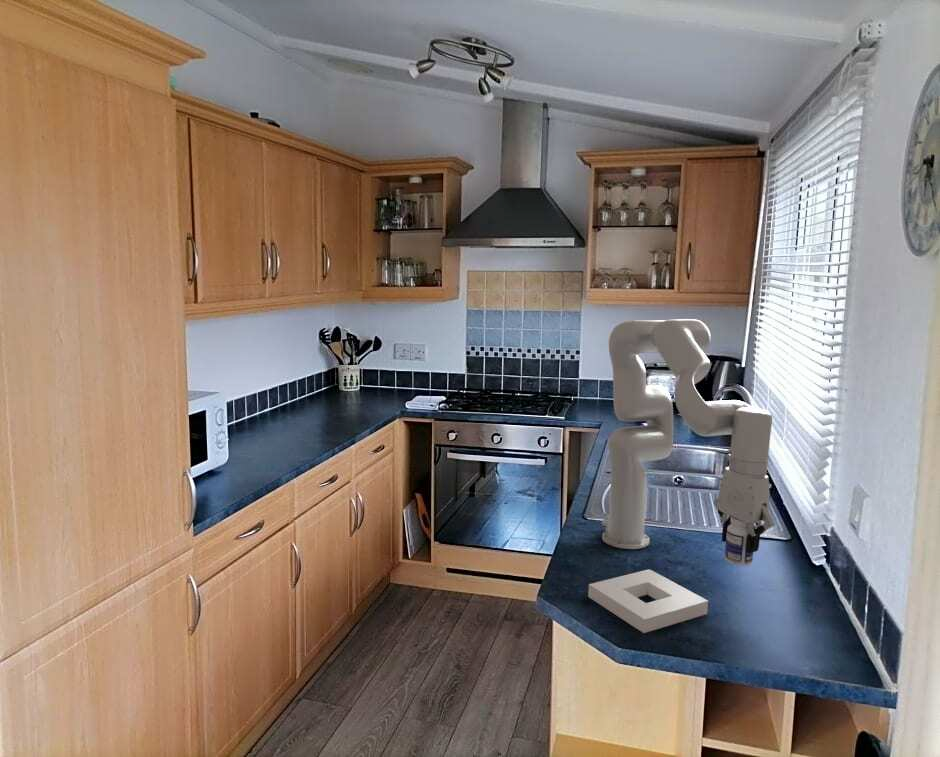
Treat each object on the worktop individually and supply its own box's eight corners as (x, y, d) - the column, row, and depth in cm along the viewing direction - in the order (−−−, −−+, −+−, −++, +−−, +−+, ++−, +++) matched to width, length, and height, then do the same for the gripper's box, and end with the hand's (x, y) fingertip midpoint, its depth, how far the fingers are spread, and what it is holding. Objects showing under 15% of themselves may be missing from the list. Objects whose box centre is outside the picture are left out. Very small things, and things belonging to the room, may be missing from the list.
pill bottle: (745, 555, 157) (750, 512, 155) (756, 566, 152) (761, 522, 150) (720, 554, 157) (724, 512, 155) (730, 566, 151) (734, 522, 150)
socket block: (588, 596, 159) (588, 584, 159) (648, 581, 168) (649, 569, 167) (643, 633, 144) (644, 619, 143) (707, 613, 152) (708, 600, 152)
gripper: (704, 457, 156) (697, 534, 159) (770, 480, 141) (760, 565, 144) (728, 453, 160) (720, 529, 163) (794, 475, 145) (785, 558, 148)
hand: (739, 545), depth 154 cm, fingers closed on pill bottle, 5 cm apart
